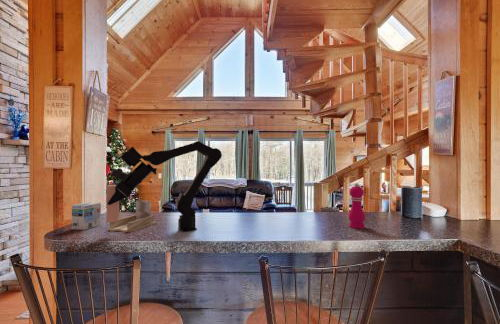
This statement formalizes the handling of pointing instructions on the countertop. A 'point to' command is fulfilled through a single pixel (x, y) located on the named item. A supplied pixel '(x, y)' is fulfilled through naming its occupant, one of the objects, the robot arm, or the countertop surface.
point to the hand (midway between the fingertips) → (109, 203)
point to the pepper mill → (356, 208)
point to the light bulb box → (86, 215)
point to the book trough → (135, 219)
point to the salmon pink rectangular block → (113, 208)
